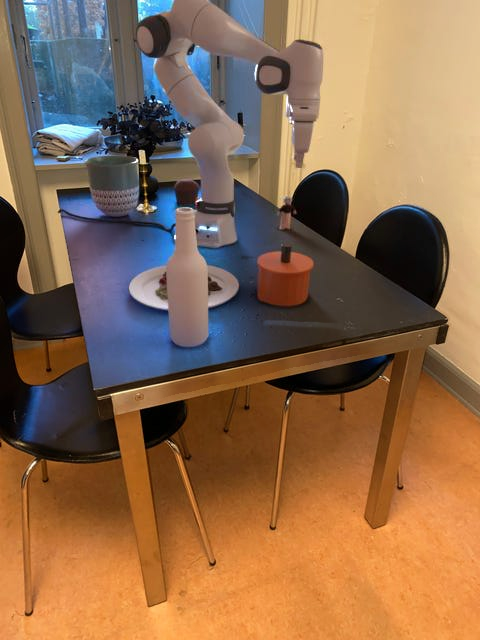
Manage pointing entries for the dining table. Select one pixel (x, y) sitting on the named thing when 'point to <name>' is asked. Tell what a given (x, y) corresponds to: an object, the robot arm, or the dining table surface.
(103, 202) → the planter
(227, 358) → the dining table surface
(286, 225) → the grandmother figurine
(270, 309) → the dining table surface
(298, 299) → the pot
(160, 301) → the plated food
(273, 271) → the lid
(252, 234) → the dining table surface
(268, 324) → the dining table surface
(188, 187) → the muffin
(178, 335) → the alcohol
